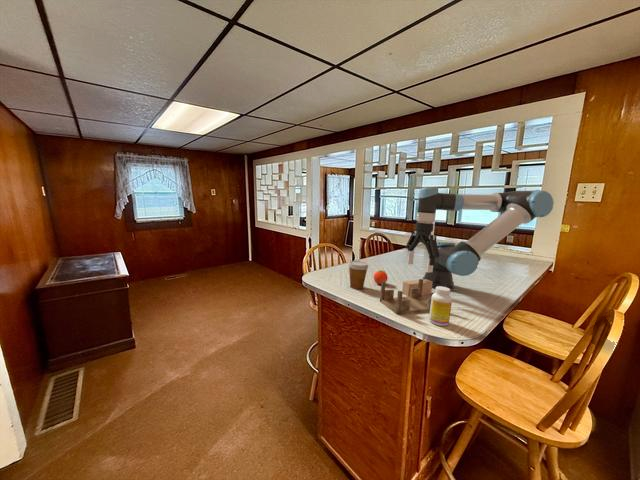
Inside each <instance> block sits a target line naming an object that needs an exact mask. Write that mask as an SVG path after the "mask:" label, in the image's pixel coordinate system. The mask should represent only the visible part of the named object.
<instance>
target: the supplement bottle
mask: <svg viewBox="0 0 640 480" xmlns="http://www.w3.org/2000/svg"><path fill="white" fill-rule="evenodd" d="M450 293H451V289H449V288H446V287H442V286H437V287H436V288H435V292H434V293H433V294H432V295H431V297H432V298H431V297H430V298H431V306H430V312H429V316H428V320H429V322H430V323H431V324H433V325H435V326H439V327H446V326H448V325H449V324H450V317H451V311H452V303H453V299H452V297H451V295H450Z"/></svg>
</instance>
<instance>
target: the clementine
mask: <svg viewBox="0 0 640 480" xmlns="http://www.w3.org/2000/svg"><path fill="white" fill-rule="evenodd" d="M373 280H374V282H375V283H376V284H378V285H381V283H382V281H385V282H386V283H387V281H388V274H387V273H386V271H385V270H378V271H375V272H374V275H373Z"/></svg>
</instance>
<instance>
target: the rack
mask: <svg viewBox="0 0 640 480" xmlns="http://www.w3.org/2000/svg"><path fill="white" fill-rule="evenodd" d="M418 280H419V284H418V288H411V290H410V296H403V294H402V293H403V292H402V290H398V291H397V297H394V293H395V290H394V289H386V283H387V281H386V282H385V281H382V283H381V284H380V292H379V293H380V294H379V295H380V296H379V302H380V303H381V304H382V305H383V306H385V307H387V309H389V310H391V311H392V312H393V313H394V314H396V315H399V316H400V315H408V314H417V313H418V314H419V313H430V306H431V298H432V296H431V297H427V299H426V298H425V297H422V295H421V294H422V286H423V278H419V279H418Z"/></svg>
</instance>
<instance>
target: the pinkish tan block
mask: <svg viewBox="0 0 640 480" xmlns="http://www.w3.org/2000/svg"><path fill="white" fill-rule="evenodd" d="M432 283H433V282H432V281H429V280H427V279H424V280H423V286H422V294H421V296H422V295H423V296H424V295H431V294H432V291H433V290H432V289H433V288H432ZM418 284H419V279H416V280H415V279H414V280H405V281H402V290H401V291H402V292H403V293H402V295H404V296H405V297H409V296H410V290H411V288H418Z"/></svg>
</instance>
